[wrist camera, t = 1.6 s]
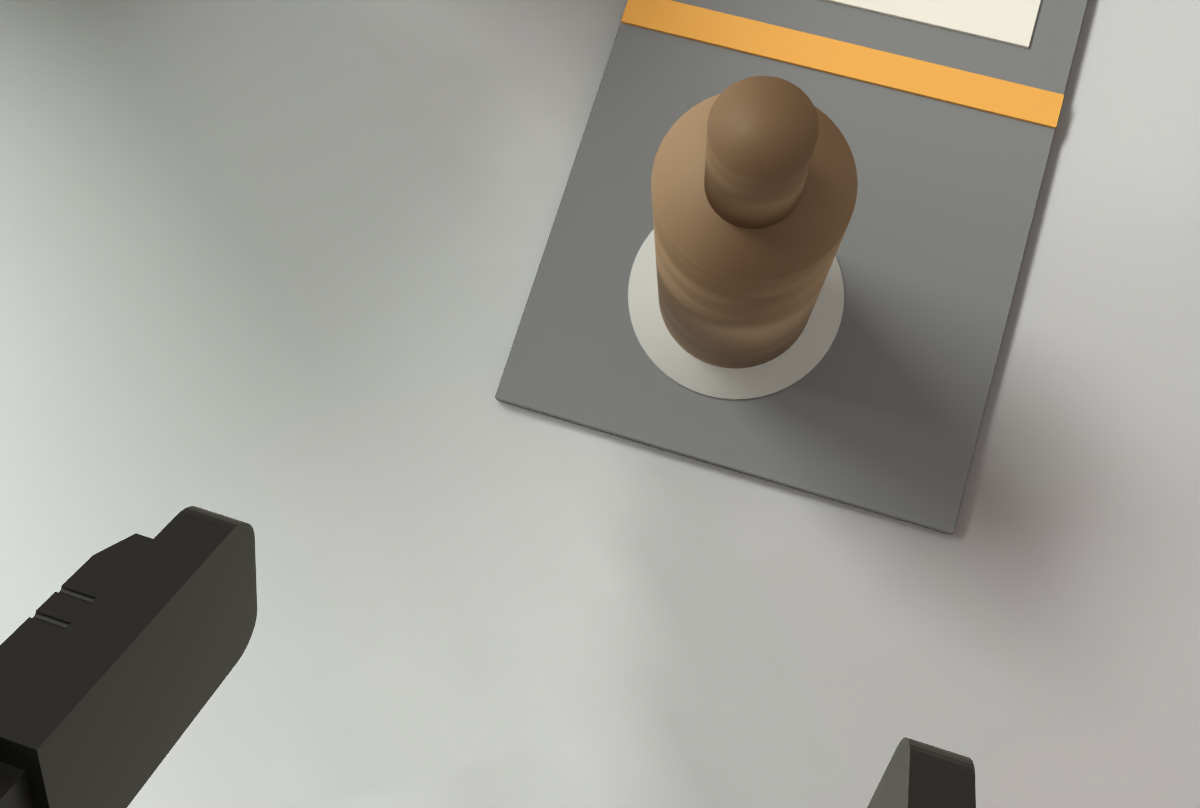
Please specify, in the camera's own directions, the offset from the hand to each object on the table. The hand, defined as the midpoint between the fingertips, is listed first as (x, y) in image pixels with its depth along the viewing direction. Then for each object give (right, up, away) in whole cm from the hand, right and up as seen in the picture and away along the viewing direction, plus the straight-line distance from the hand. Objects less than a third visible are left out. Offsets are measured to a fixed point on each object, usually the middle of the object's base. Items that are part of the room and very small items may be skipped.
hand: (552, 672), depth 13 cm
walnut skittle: (+5, +7, +22) cm, 24 cm away
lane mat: (+8, +13, +24) cm, 28 cm away
